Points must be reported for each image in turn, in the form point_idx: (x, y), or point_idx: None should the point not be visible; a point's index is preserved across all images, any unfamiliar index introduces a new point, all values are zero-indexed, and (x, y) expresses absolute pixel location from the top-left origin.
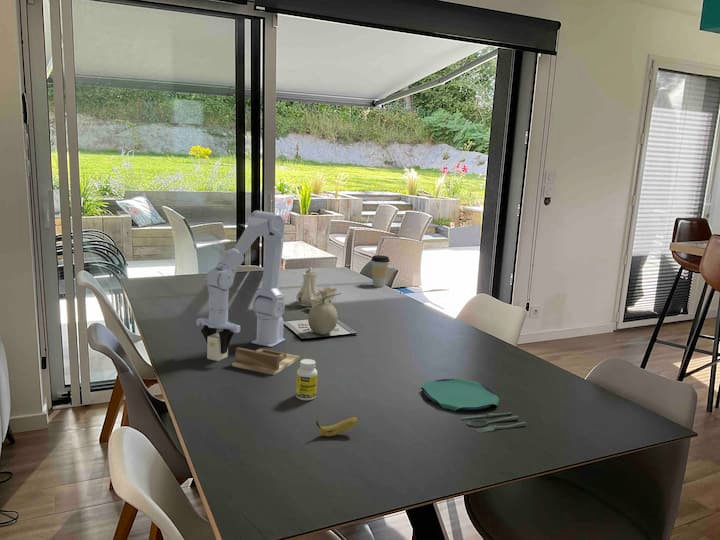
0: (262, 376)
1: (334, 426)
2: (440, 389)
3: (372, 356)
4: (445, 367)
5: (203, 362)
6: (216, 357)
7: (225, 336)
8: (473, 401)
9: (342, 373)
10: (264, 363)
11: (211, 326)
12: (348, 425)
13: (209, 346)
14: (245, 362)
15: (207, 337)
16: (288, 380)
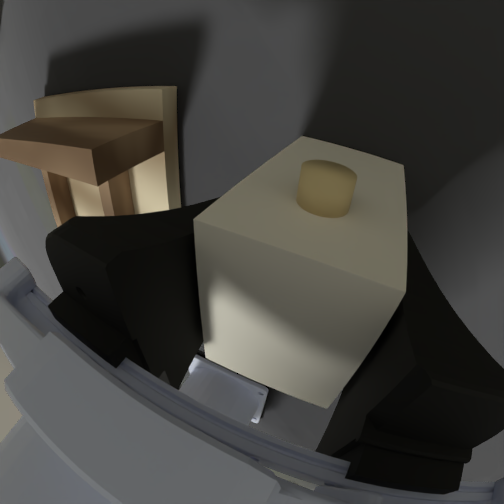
0: (54, 64)
1: None
2: None
3: (48, 288)
4: (8, 255)
5: (393, 74)
6: (311, 146)
7: (76, 216)
8: None
9: (12, 191)
10: (42, 123)
11: (37, 391)
12: None
13: (377, 200)
14: (108, 119)
15: (414, 303)
16: (20, 89)
